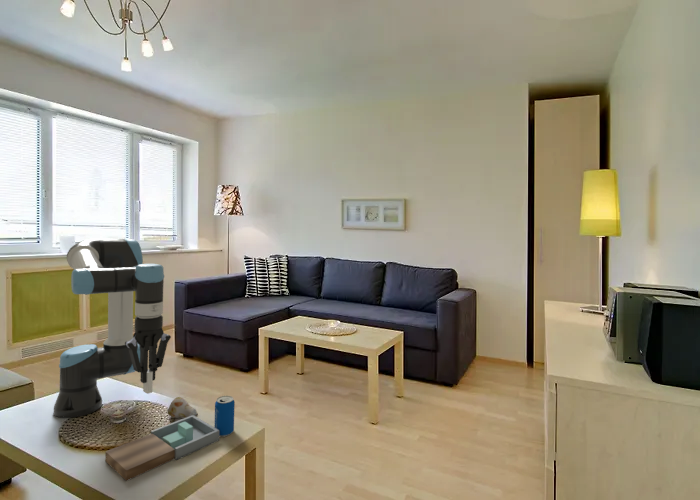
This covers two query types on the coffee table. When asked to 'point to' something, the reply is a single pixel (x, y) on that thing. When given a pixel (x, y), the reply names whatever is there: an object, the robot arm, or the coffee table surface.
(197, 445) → the tray
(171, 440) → the tile near
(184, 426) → the tile far
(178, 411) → the mug
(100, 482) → the coffee table surface
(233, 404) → the beverage can
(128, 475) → the walnut board
